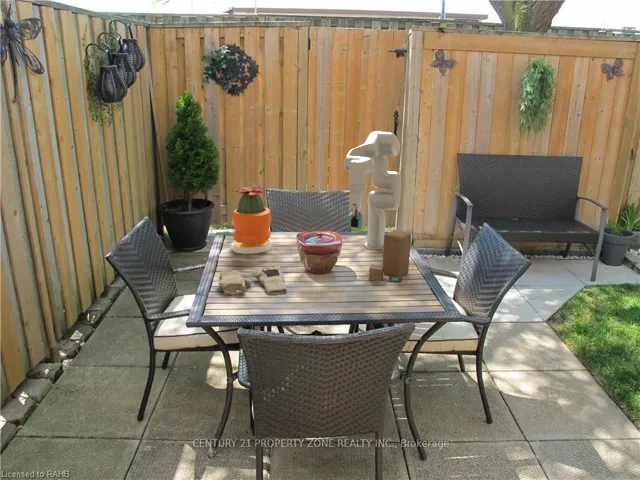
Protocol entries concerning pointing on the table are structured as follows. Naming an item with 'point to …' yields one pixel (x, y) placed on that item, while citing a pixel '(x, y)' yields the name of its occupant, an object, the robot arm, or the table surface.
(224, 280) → the pair of gloves
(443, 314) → the table surface
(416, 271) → the table surface
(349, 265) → the table surface
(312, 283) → the table surface
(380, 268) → the walnut cube
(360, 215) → the teal cube
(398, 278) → the card
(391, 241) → the wooden block
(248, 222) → the potted cactus
